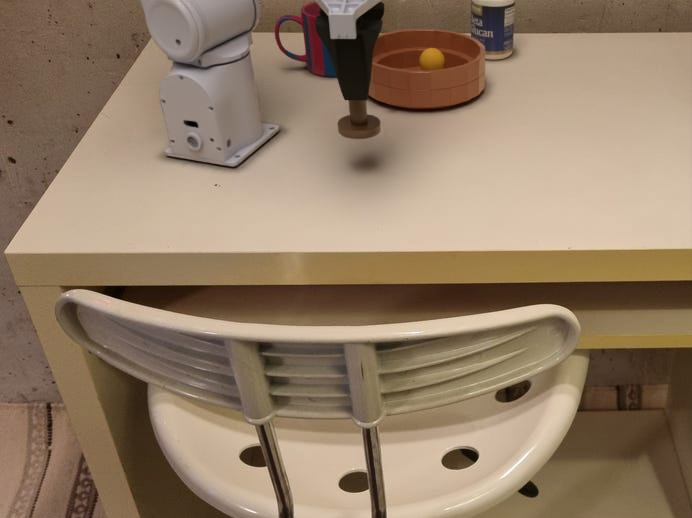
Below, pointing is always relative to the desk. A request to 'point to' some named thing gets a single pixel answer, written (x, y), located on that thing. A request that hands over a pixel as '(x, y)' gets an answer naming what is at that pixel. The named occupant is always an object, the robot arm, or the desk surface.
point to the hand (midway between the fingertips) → (356, 94)
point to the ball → (431, 60)
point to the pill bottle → (493, 26)
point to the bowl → (426, 86)
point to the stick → (359, 122)
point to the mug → (309, 42)
